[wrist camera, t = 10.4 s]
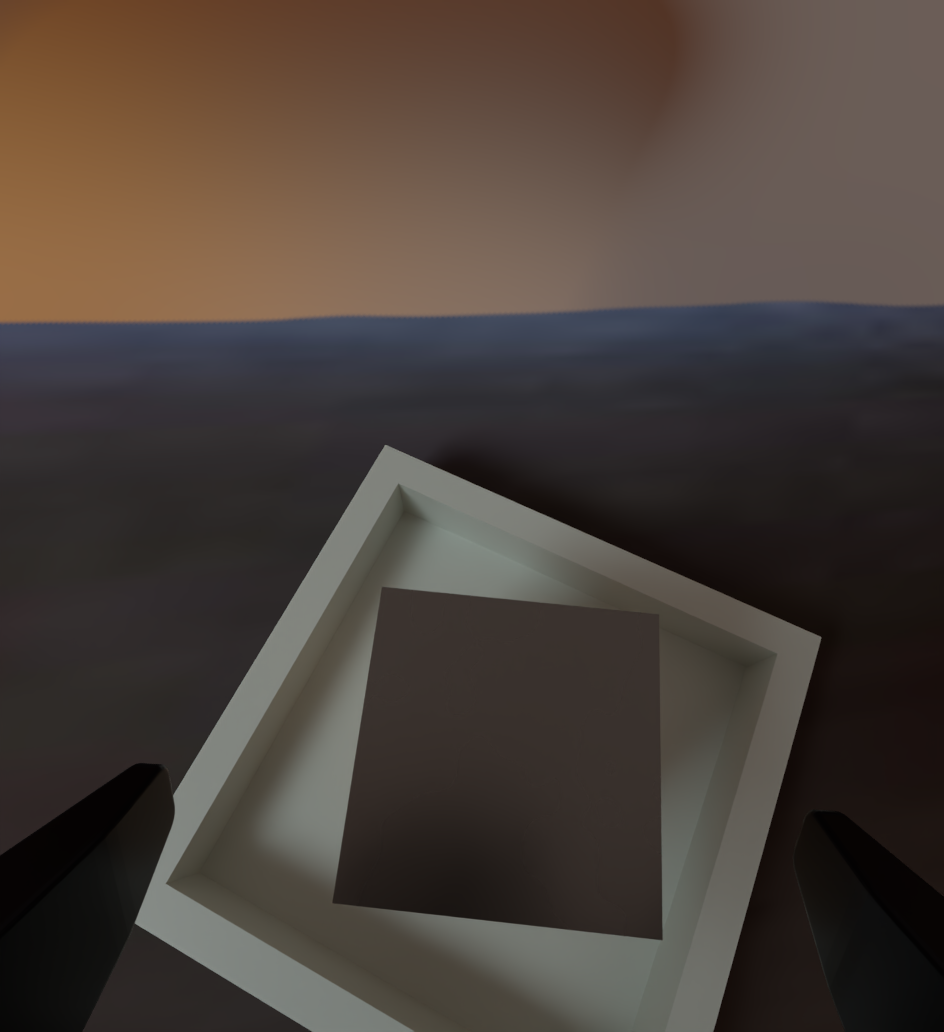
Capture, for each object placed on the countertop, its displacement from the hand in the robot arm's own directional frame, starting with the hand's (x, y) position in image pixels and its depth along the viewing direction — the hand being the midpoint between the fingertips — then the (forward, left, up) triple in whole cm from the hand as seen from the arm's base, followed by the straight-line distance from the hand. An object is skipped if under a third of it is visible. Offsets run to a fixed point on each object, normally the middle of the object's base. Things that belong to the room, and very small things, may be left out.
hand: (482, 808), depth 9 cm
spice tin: (+1, 0, -10) cm, 10 cm away
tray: (+1, 0, -11) cm, 11 cm away
